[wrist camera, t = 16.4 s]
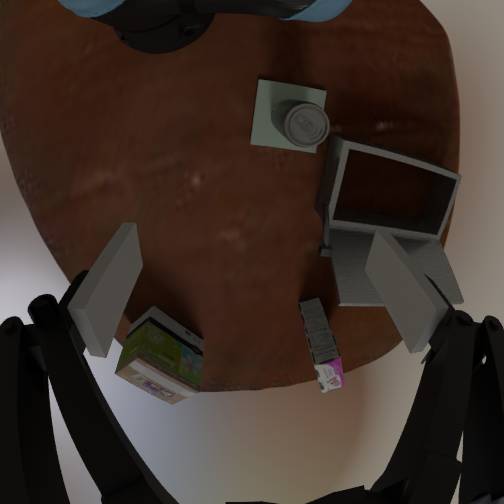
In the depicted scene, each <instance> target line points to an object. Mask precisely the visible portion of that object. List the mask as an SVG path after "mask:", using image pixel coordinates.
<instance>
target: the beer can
mask: <svg viewBox="0 0 504 504" xmlns="http://www.w3.org/2000/svg"><path fill="white" fill-rule="evenodd" d="M271 122H272V124H273V126H274V127H275V128H276V129H277V130H278V131H279V132H280V133H281V134H282V135H283V136H284V137H285V138H286V139H287V140H288V141H289V142H290V143H292V144H294V145H295V146H298V147H302V148H307V147H314V146H316V145H319V144H320V143H321V142H323V141H324V140H325V138H326V137H327V135H328V132H329V120H328V117H327V115H326V113H325V112H324V111H323V109H322V108H321V107H319V106H318V105H317V104H315V103H312V102H308V101H301V100H293V99H285V100H282V101H280V102H278V103H277V104H276V105H275V106H274V107H273V109H272V112H271Z"/></svg>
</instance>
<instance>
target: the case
mask: <svg viewBox="0 0 504 504" xmlns="http://www.w3.org/2000/svg"><path fill="white" fill-rule="evenodd" d="M349 149H354V150H358V151H362V152H366V153H370V154H374V155H378V156H382V157H386V158H390V159H393V160H397V161H401V162H404V163H407V164H411V165H414V166H417V167H421V168H424V169H427V170H430V171H433V172H436V173H437V174H436V177H435V181H434V184H433V187H432V190H431V194H430V197H429V200H428V203H427V206H426V209H425V211H424V214H423V217H422V220H416V219H411V218H406V217H400V216H395V215H389V214H383V213H377V212H371V211H365V210H358V209H352V208H345V207H338V206H336V203H337V199H338V195H339V191H340V187H341V182H342V178H343V174H344V170H345V165H346V161H347V156H348V152H349ZM461 177H462V176H461V175H459V174H458V173H456V172H454V171H452V170H450V169H448V168H447V167H445V166H443V165H440V164H437V163H435V162H432V161H429V160H426V159H423V158H420V157H417V156H414V155H411V154H408V153H405V152H401V151H398V150H395V149H391V148H388V147H384V146H381V145H377V144H373V143H369V142H365V141H361V140H357V139H353V138H349V137H344V136H340V135H335V134H330V140H329V145H328V150H327V155H326V160H325V164H324V169H323V174H322V179H321V183H320V188H319V192H318V197H317V201H316V206H315V210H316V212H317V213H318V215H319V217H320V219H321V220H322V222H323V244H320V246H319V250H318V252H319V254H320V256H325V257H329V258H330V263H331V268H332V273H333V278H334V283H335V289H336V294H337V300H338V306H385V305H384V303H383V301H382V299H381V298H380V296H379V294H378V292H377V291H376V289H375V287H374V285H373V284H372V282H371V280H370V279H369V277H368V275H367V274H366V272H365V270H364V269H365V266H366V263H367V259H368V256H369V253H370V249H371V246H372V243H373V239H374V235H375V232H376V230H387V231H388V232H389V233H390V234H391V235H392V237H393V238H394V239H395V240H396V241H397V242H398V243H399V245H400V246H401V247H402V248H403V249H404V250H405V252H406V253H407V254H408V255H409V256H410V258H411V259H412V260H413V261H414V262H415V264H416V265H417V266H418V267H419V269H420V270H421V271H422V272H423V274H424V275H427V276H428V277H429V278H431V279H432V280H433V281H434V282H435V284H436V285H437V286H438V288H439V289H440V290H441V291H442V294H444V295H445V297H446V298H447V299H448V301H449V302H450V303H451V304H462V303H463V302H464V300H463V297H462V295H461V292H460V289H459V286H458V284H457V281H456V278H455V276H454V273H453V271H452V268H451V266H450V264H449V261H448V259H447V257H446V254H445V252H444V250H443V248H442V245H441V243H440V241H439V239H440V237H441V234H442V232H443V229H444V227H445V224H446V221H447V219H448V216H449V213H450V211H451V208H452V205H453V202H454V199H455V196H456V193H457V190H458V187H459V184H460V180H461Z"/></svg>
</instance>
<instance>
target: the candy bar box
mask: <svg viewBox="0 0 504 504" xmlns="http://www.w3.org/2000/svg"><path fill="white" fill-rule="evenodd" d="M298 305H299V309H300V313H301V317H302V321H303V324H304V328H305V332H306V336H307V340H308V344H309V348H310V351H311V355H312V359H313V363H314V367H315V371H316V374H317V377H318V381H319V384H320V387H321V390H322V393H324V392H327V391H330V390H334V389H337V388H341V387H343V386H345V382H344V376H343V369H342V363H341V357H340V354H339V351H338V348H337V345H336V342H335V339H334V336H333V334H332V331H331V328H330V325H329V323H328V320H327V317H326V314H325V311H324V308H323V306H322V303H321V300H320V297H316V298H313V299H310V300H307V301H303V302H300V303H298Z"/></svg>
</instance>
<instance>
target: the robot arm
mask: <svg viewBox="0 0 504 504" xmlns="http://www.w3.org/2000/svg"><path fill="white" fill-rule="evenodd" d="M58 1H59V2H60V3H61V4H62V5H63V6H64V7H66V8H68V9H70V10H72V11H73V12H74V13H75V14H76V15H78V16H81V17H87V18H92V19H94V20H97V21H100V22H102V23H105V24H107V25H110V26H112V27H114V29H115V32H116V34H117V36H118V37H119V38H120V40H121V41H122V42H123V43H125V44H126V45H127V46H129V47H131V48H133V49H135V50H138V51H141V52H145V53H151V54H160V53H168V52H172V51H175V50H178V49H181V48H183V47H185V46H187V45H189V44H190V43H192V42H193V41H195V40H196V39H198V38H199V37H200V36H201V35H202V34H203V33H204V32H205V31H206V30H207V28H208V27H209V26H210V24H211V22H212V20H213V18H214V16H215V13H234V14H252V15H264V16H273V17H277V18H278V19H281V20H293V19H296V20H303V21H310V22H322V21H326V20H330V19H332V18H334V17H336V16H338V15H339V14H340V13H341V12H342V11H344V10H345V9H346V8H347V6H348V5H349V4H350V3H351V2H352V0H58ZM142 267H143V263H142V258H141V252H140V246H139V240H138V233H137V227H136V223H122V225H121V226H120V227H119V229H118V230H117V232H116V233H115V234H114V236H113V237H112V239H111V240H110V241H109V243H108V244H107V246H106V247H105V248H104V250H103V251H102V253H101V254H100V256H99V257H98V259H97V260H96V262H95V263H94V265H93V266H92V268H91V269H90V270H83V271H82V272H81V273H79V274H78V275H77V276H76V277H75V279H74V280H73V282H72V283H71V285H70V286H69V288H68V289H67V291H66V292H65V294H64V296H63V297H62V299H61V300H60V302H59V304H58V303H57V300H56V298H55V297H54V296H53V295H51V294H44V295H40V296H38V297H37V298H35V299H34V300H33V301H32V302H31V303H30V304H29V306H28V313H29V315H30V317H31V319H32V321H33V323H34V324H29V325H24V324H23V322H22V320H21V319H20V318H19V317H16V316H13V317H10V318H7V319H6V320H5V321H4V322H3V323H2V324H1V325H0V504H70V501H69V498H68V495H67V492H66V488H65V484H64V481H63V477H62V473H61V469H60V464H59V460H58V455H57V450H56V444H55V439H54V433H53V426H52V418H51V410H50V399H49V384H48V377H49V380H50V383H51V386H52V389H53V392H54V395H55V398H56V401H57V403H58V406H59V409H60V411H61V414H62V416H63V419H64V421H65V424H66V426H67V428H68V431H69V433H70V435H71V438H72V440H73V442H74V444H75V446H76V448H77V450H78V452H79V454H80V456H81V458H82V460H83V462H84V464H85V466H86V468H87V470H88V471H89V473H90V475H91V477H92V478H93V480H94V482H95V484H96V485H97V487H98V489H99V490H100V492H101V495H102V497H101V502H102V504H179V503H178V502H177V501H176V500H175V499H174V498H173V497H172V496H171V495H170V494H169V493H168V492H167V491H166V489H165V488H164V487H163V486H162V485H161V483H160V482H159V481H158V480H157V478H156V477H155V476H154V474H153V473H152V472H151V470H150V469H149V468H148V466H147V465H146V464H145V462H144V461H143V460H142V458H141V457H140V455H139V454H138V452H137V451H136V449H135V448H134V446H133V445H132V443H131V442H130V440H129V439H128V437H127V436H126V434H125V432H124V431H123V429H122V427H121V426H120V424H119V422H118V421H117V419H116V417H115V416H114V414H113V412H112V410H111V409H110V407H109V405H108V403H107V401H106V399H105V398H104V396H103V394H102V392H101V390H100V388H99V386H98V384H97V382H96V380H95V378H94V376H93V374H92V372H91V369H90V367H89V365H88V363H87V361H86V358H85V357H84V355H83V352H84V350H85V348H87V349H88V351H89V353H90V355H91V356H97V357H104V358H106V357H107V354H108V351H109V348H110V346H111V343H112V340H113V338H114V335H115V332H116V330H117V327H118V324H119V322H120V319H121V317H122V314H123V312H124V309H125V307H126V304H127V302H128V299H129V297H130V295H131V292H132V290H133V288H134V285H135V283H136V281H137V278H138V276H139V274H140V272H141V269H142ZM364 270H365V272H366V274H367V275H368V277H369V279H370V280H371V282H372V284H373V285H374V287H375V289H376V291H377V292H378V294H379V296H380V298H381V299H382V301H383V303H384V305H385V307H386V308H387V310H388V312H389V314H390V316H391V317H392V319H393V321H394V323H395V325H396V327H397V329H398V331H399V332H400V334H401V336H402V338H403V340H404V342H405V344H406V346H407V348H408V350H409V352H410V353H416V352H421V351H423V349H424V348H425V346H426V345H427V343H428V342H429V344H430V346H431V349H430V350H429V352H428V353H427V355H426V356H425V357H424V359H423V360H422V362H421V364H423V363H424V361H426V363H425V366H424V370H423V373H422V377H421V380H420V384H419V387H418V390H417V393H416V396H415V399H414V402H413V405H412V408H411V411H410V414H409V416H408V419H407V422H406V425H405V427H404V429H403V432H402V434H401V437H400V439H399V442H398V444H397V446H396V448H395V451H394V453H393V455H392V457H391V460H390V462H389V463H388V465H387V468H386V470H385V471H384V473H383V474H382V475H381V476H380V477H379V479H378V480H377V481H376V482H375V483H374V485H373V486H372V488H371V489H370V490H365V489H364V485H363V486H359V487H355V488H351V489H346V490H342V491H338V492H333V493H331V494H328V495H326V496H324V497H321V498H319V499H316V500H314V501H311V502H309V503H306V504H450V503H451V500H452V498H453V495H454V492H455V489H456V486H457V483H458V480H459V477H460V474H461V478H460V487H459V503H458V504H504V329H503V326H502V324H501V323H500V322H499V320H498V319H496V318H495V317H493V316H489V315H488V316H486V317H485V318H484V320H483V321H482V323H477V322H474V321H473V319H472V318H471V317H470V316H469V314H467V313H466V312H463V311H461V310H455V309H454V308H453V306H452V305H451V303H450V302H449V301H448V299H447V298H446V297H445V295H444V294H442V291H441V290H440V289H439V288H438V286H437V285H436V284H435V282H434V281H433V280H432V279H431V278H429V277H428V276H427V275H424V274H423V272H422V271H421V270H420V269H419V267H418V266H417V265H416V264H415V262H414V261H413V260H412V259H411V258H410V256H409V255H408V254H407V253H406V252H405V250H404V249H403V248H402V247H401V246H400V245H399V243H398V242H397V241H396V240H395V239H394V238H393V237H392V235H391V234H390V233H389V232H388V231H387V230H376V232H375V235H374V239H373V243H372V246H371V249H370V253H369V256H368V259H367V263H366V266H365V269H364ZM485 356H486V362H485V363H484V364H483V362H482V359H483V358H484V357H485ZM462 432H463V455H462V463H461V462H460V461H458V460H457V458H456V457H457V452H458V448H459V444H460V440H461V436H462ZM226 504H276V503H268V502H262V501H260V502H226Z"/></svg>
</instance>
